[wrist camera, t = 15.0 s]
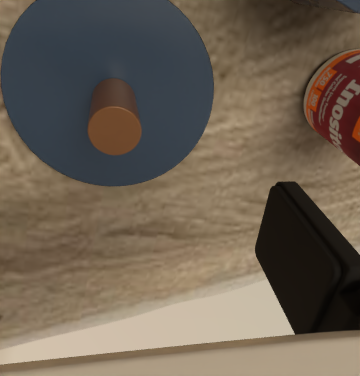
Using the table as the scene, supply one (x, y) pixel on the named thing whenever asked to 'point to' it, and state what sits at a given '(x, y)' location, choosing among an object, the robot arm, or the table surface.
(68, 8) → the lid
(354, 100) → the pill bottle
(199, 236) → the table surface
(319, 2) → the tin
